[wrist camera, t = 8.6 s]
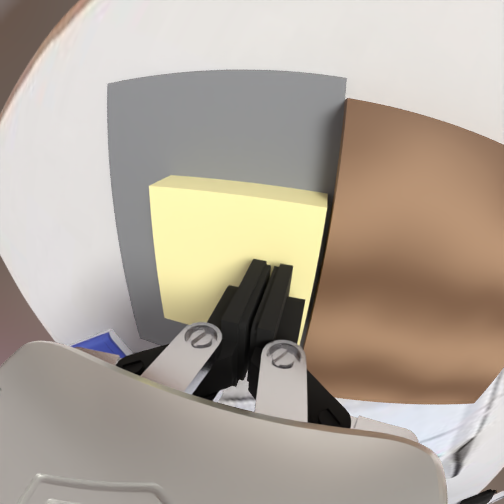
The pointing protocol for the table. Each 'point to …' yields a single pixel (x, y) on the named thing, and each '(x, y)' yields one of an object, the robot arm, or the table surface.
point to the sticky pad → (230, 239)
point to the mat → (214, 154)
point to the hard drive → (105, 343)
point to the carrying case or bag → (480, 498)
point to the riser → (410, 262)
